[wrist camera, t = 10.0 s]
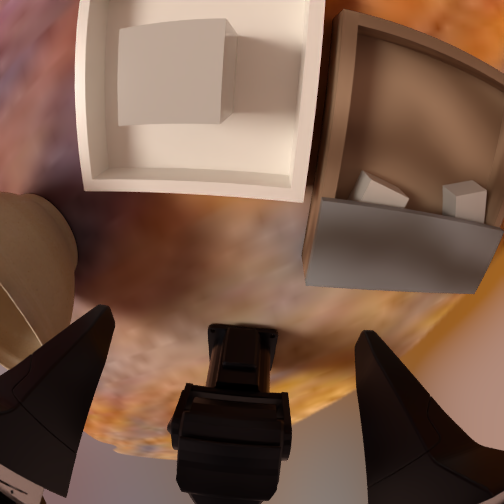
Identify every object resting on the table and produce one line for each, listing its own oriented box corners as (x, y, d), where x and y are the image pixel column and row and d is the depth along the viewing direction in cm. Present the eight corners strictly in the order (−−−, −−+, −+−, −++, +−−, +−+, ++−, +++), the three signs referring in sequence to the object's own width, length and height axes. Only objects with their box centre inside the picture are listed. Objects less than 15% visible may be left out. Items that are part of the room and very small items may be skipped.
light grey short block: (378, 222, 20) (387, 237, 18) (342, 208, 19) (349, 221, 17) (397, 187, 18) (409, 198, 16) (362, 169, 18) (371, 179, 16)
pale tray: (298, 185, 19) (303, 202, 17) (105, 175, 19) (84, 191, 17) (318, -16, 11) (326, -32, 9) (104, -5, 12) (81, -13, 9)
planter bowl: (8, 125, 17) (-86, 173, 7) (137, 229, 22) (68, 331, 13) (-14, 243, 24) (-67, 300, 15) (83, 323, 29) (43, 399, 20)
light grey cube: (233, 112, 16) (219, 124, 12) (154, 112, 16) (118, 126, 12) (238, 35, 13) (226, 18, 9) (156, 39, 14) (119, 29, 9)
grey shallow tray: (456, 268, 22) (474, 293, 19) (301, 255, 22) (305, 285, 19) (508, 87, 13) (538, 95, 10) (332, 19, 13) (346, 6, 10)
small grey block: (470, 214, 18) (483, 226, 17) (442, 221, 19) (454, 234, 17) (472, 180, 17) (486, 190, 15) (442, 185, 17) (456, 196, 16)
